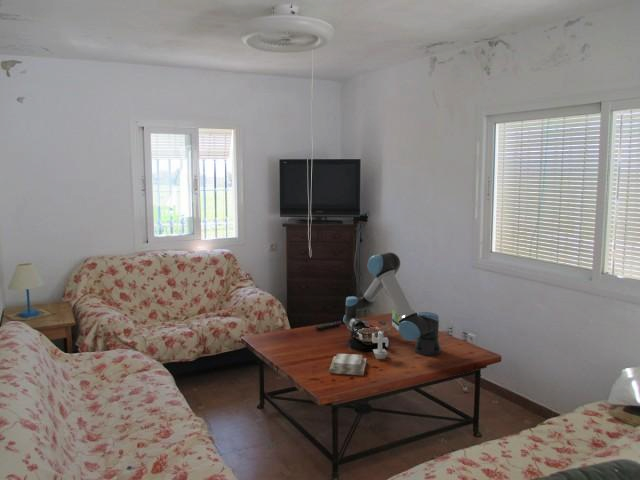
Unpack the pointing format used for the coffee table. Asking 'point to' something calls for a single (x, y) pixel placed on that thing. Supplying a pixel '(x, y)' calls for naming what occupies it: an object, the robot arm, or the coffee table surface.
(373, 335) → the figurine
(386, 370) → the coffee table surface
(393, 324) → the tea box
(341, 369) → the plinth
